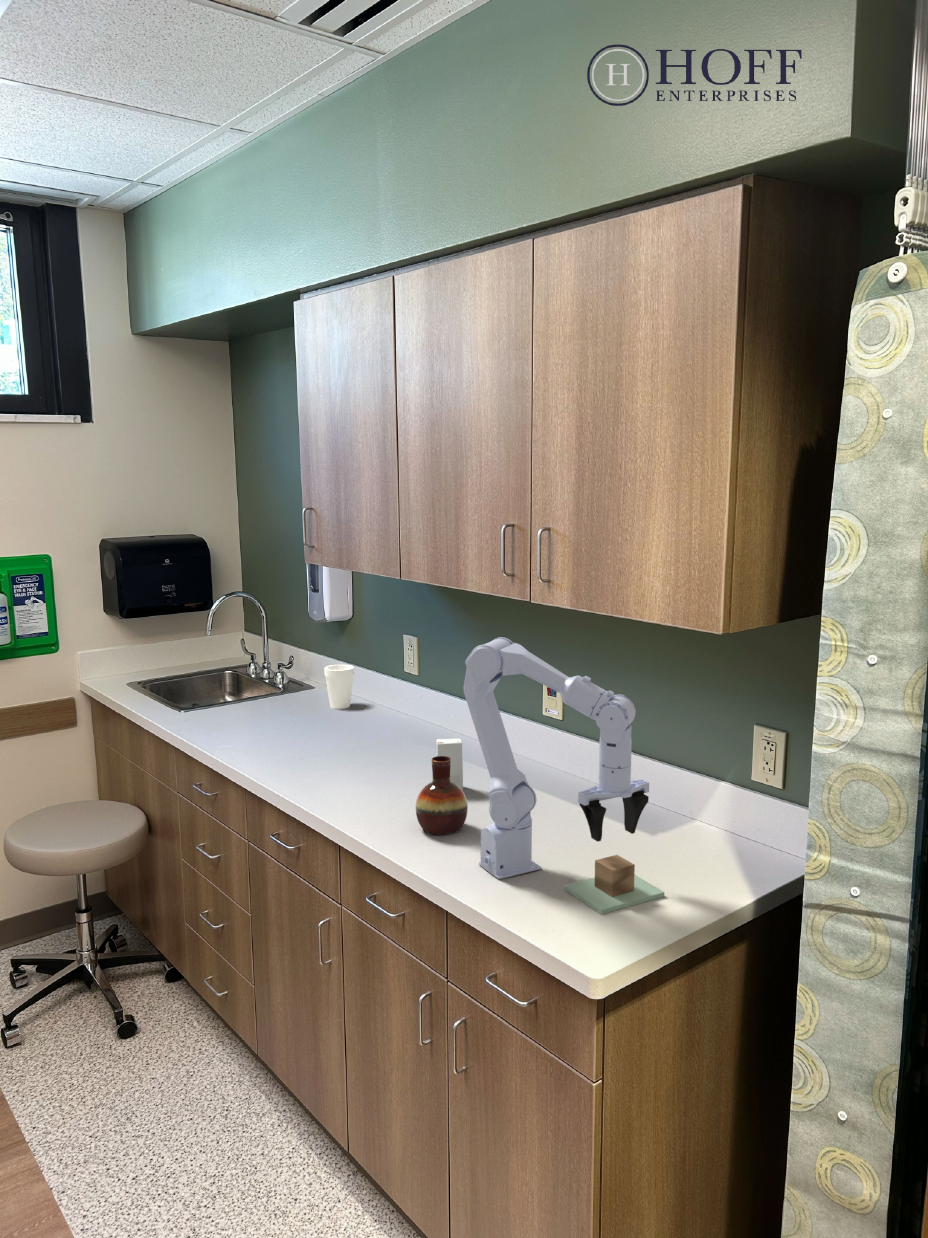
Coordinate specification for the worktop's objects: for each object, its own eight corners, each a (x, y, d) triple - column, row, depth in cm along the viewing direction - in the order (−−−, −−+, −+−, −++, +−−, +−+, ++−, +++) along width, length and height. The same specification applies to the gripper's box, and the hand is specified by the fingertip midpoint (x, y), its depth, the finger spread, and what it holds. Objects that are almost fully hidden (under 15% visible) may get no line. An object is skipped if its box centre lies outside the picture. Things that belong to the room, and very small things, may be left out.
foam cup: (323, 704, 304) (322, 665, 302) (351, 702, 306) (350, 663, 304) (328, 711, 295) (327, 671, 293) (356, 709, 297) (355, 669, 295)
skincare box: (461, 785, 224) (461, 737, 222) (463, 792, 220) (463, 742, 218) (436, 786, 223) (435, 738, 221) (437, 792, 219) (437, 743, 217)
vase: (406, 833, 194) (405, 763, 192) (430, 815, 204) (429, 748, 202) (454, 841, 190) (454, 769, 187) (475, 823, 200) (475, 754, 197)
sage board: (601, 914, 158) (601, 910, 158) (564, 889, 168) (564, 885, 168) (664, 896, 165) (664, 892, 165) (625, 873, 174) (625, 869, 174)
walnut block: (611, 897, 163) (612, 870, 162) (594, 886, 167) (595, 860, 166) (634, 891, 165) (634, 864, 164) (616, 880, 170) (617, 854, 169)
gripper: (595, 776, 159) (593, 851, 161) (661, 763, 166) (658, 835, 168) (571, 765, 165) (570, 837, 167) (636, 753, 172) (634, 823, 174)
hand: (613, 835), depth 168 cm, fingers open, 7 cm apart
